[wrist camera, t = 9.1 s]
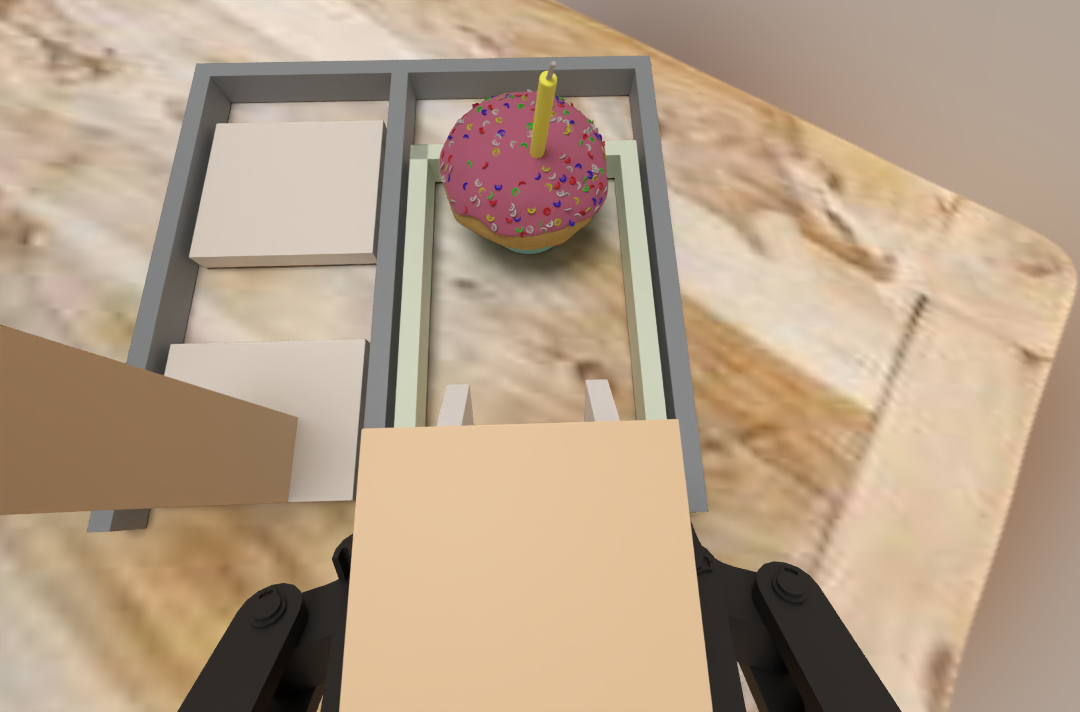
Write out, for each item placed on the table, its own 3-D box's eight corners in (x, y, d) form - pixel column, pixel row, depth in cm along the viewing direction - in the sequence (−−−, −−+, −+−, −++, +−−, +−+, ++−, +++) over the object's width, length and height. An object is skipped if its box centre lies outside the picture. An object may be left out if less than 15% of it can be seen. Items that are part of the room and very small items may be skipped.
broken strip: (361, 499, 23) (-110, 522, 6) (157, 506, 22) (-890, 548, 6) (389, 134, 29) (193, -340, 12) (229, 138, 29) (-185, -339, 12)
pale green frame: (669, 555, 22) (1154, 790, 5) (398, 565, 22) (-127, 847, 5) (629, 163, 28) (772, -345, 11) (419, 168, 28) (234, -343, 11)
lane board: (694, 509, 23) (708, 511, 21) (125, 529, 22) (86, 532, 20) (642, 83, 30) (649, 55, 29) (218, 90, 30) (196, 63, 28)
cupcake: (626, 234, 27) (692, 46, 16) (508, 312, 26) (486, 168, 14) (541, 138, 29) (544, -93, 18) (427, 205, 28) (350, 1, 16)
